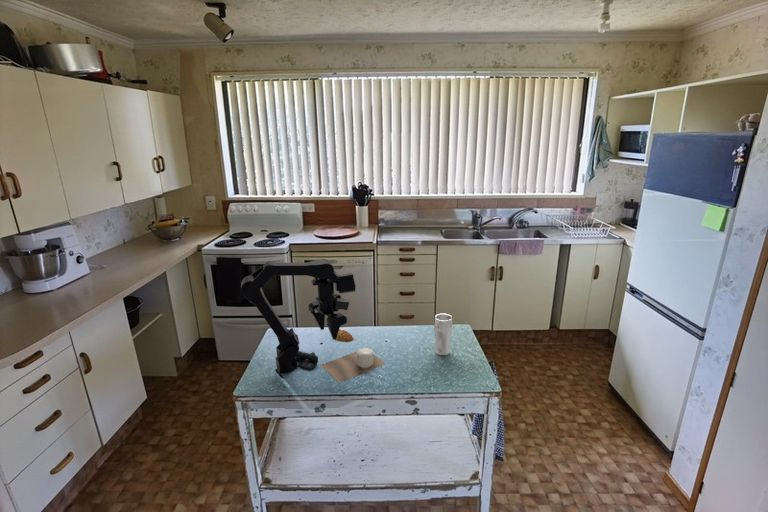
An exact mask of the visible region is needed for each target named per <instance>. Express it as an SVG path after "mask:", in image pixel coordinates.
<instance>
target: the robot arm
mask: <svg viewBox="0 0 768 512" xmlns="http://www.w3.org/2000/svg"><path fill="white" fill-rule="evenodd" d="M273 276H274V277H275V276H276V277H279V276H283V277H284V276H285V277H286V276H287V277H288V276H289V277H290V276H295V277H296V276H297V277H298V276H299V277H300V276H303V277H304V276H307V277H312V278H313V279H312V280H311V284H312V287H313V286H317V296H316V297H315V300H316V301H312V302H309V304H308V311H309V312H310V314H311V315H312V316H313V318H314V320H315V322H316V323H317V325H318V327H319V329H320V331H323V330H324V329H325V319H326V326H327V329H328V331H329V334H330V335H331V338H332V340H335V339H336V337H337V334H338V331H339V329H340V328H341V326H344V325H346V324H347V323H348V318H347V316H345V315H344V314H343V313H341V312H339V310H343V311H348V310H349V305H350V301H349V300H347V299H345V298H343V297H342V296H341V295H340V294H348V293H355V292H356V289H357V288H356V282H355V279H354V278H355V277H354V274H353V272H349V273H344V274H338V273H337V272H336V271H335V267H334V266H333V265H332V263H331V261H330V260H328V259H326V258H320V259H315V260H311V261H308V262H271V261H267V262H265V263H264V264H263V265H262V266H260V267H259V268H258V269H256V270H255V271H253V273H251V274H250V275H246V276H245V277H244V278H242V279H241V283H240V292H241V293H240V294H241V295H242V296H243V297H244V298H246V299H247V301H249V302H250V303H251V304H253V305H254V306H255V307H256V308H257V310H258V311H259V313H260V314H261V316H262V317H263V319H264V320H265V322H266V323H267V324H268V326H269V327H270V329H271V330H272V332H273V333H274V335H275V336H276V338H277V341H278V343H279V344H278V345H277V346H276V347H275V349H276V357H275V364H276V368H275V372H276V373H277V375H278V376H279V377H280V379H284V377H283V375H282V374H285V375H286V374H290V373H292V372H293V371H295V370H296V369H297V368H299V367H298V361H297V358H296V357H295V355H296V354H297V353H298V351H300V340H299V335H298V334H297V333H296V332H295V331H294V328H293V327H291V328H289V329H288V328H287V327H286V326H285V325H284V324H285V323H283V322H282V320H281V318H280V317H279V315H278V314H277V313H276V311H275V309H274V308H273V306H272V305H271V304H270V302H269V300H268V299H267V297H266V296H265V293H264V290H263V287H264V286H265V285H266V284H267V282H268V281H269V280H270V279H271V278H272V277H273ZM335 292H338V293H335ZM326 316H327V318H325V317H326Z"/></svg>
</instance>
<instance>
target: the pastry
mask: <svg viewBox="0 0 768 512" xmlns="http://www.w3.org/2000/svg"><path fill="white" fill-rule="evenodd" d="M334 340H335V341H339V342H345V343H348V342H352V341H354V337H353V334H351V333H350V332H348V331H347V330H346V329H342V330H341V329H340V328H339V331H338V334H337V337H336V339H334Z"/></svg>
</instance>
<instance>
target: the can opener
mask: <svg viewBox="0 0 768 512" xmlns="http://www.w3.org/2000/svg"><path fill="white" fill-rule="evenodd" d="M295 357H296V358H297V363H298V362H299V363H298V364H297V366H298V367H297V368H301V369H302V370H307V371H313V370H314V369H316V365H317V364H318V363H319V357H318V355H316V353H315V352H314V351H312V352H310V353H309V352H304V351H302V350H301V351H300V350H299V351H298V353H297V354H296V355H295Z"/></svg>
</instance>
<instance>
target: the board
mask: <svg viewBox="0 0 768 512" xmlns="http://www.w3.org/2000/svg"><path fill="white" fill-rule="evenodd" d="M357 351H358V350H357ZM357 351H354V352H351V353H349V354H346V355H343V356H341V357H338V358H335V359H333V360H330V361H327V362H325V363H321V364H320V367H322V368H323V370H325V371H326V372H327V373H328V374H329V375H330V376H331V377H332V378H333V380H335V381H336V382H337V383H338V384H341V383H343V382H346V381H348V380H350V379H353V378H355V377H357V376H360V375H362V374H365V373H368V372H370V371H372V370H374V369H377V368H379V367H383V366H384V365H386V364H387V363H386V362H385V361H383V360H382V359H381V358H379V357H378V356H377V355H375V354H374V353H373V365H372V366H370V367H368V368H362V367H360V366H358V365H357Z"/></svg>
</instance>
